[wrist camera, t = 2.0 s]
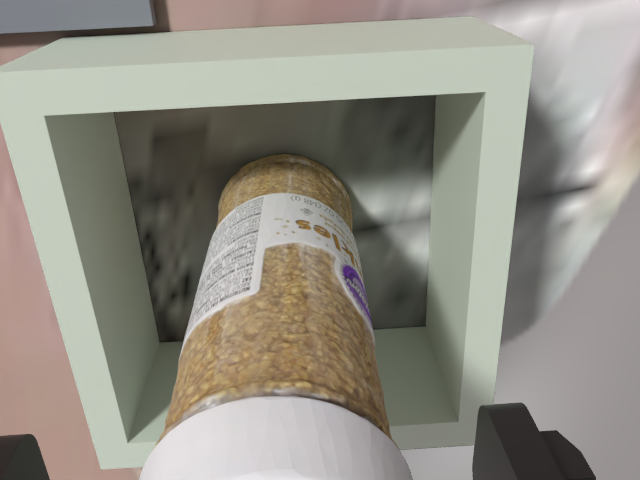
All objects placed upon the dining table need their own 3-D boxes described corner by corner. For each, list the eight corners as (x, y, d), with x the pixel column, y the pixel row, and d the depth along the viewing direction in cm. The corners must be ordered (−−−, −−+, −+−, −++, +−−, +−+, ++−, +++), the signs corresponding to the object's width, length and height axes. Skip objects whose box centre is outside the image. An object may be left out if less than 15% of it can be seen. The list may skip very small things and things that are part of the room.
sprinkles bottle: (378, 217, 21) (499, 611, 9) (279, 294, 22) (267, 732, 10) (288, 119, 19) (284, 439, 7) (186, 208, 20) (35, 611, 8)
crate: (473, 16, 18) (534, 44, 13) (450, 346, 23) (488, 444, 19) (63, 37, 18) (-14, 72, 13) (137, 365, 23) (101, 469, 19)
